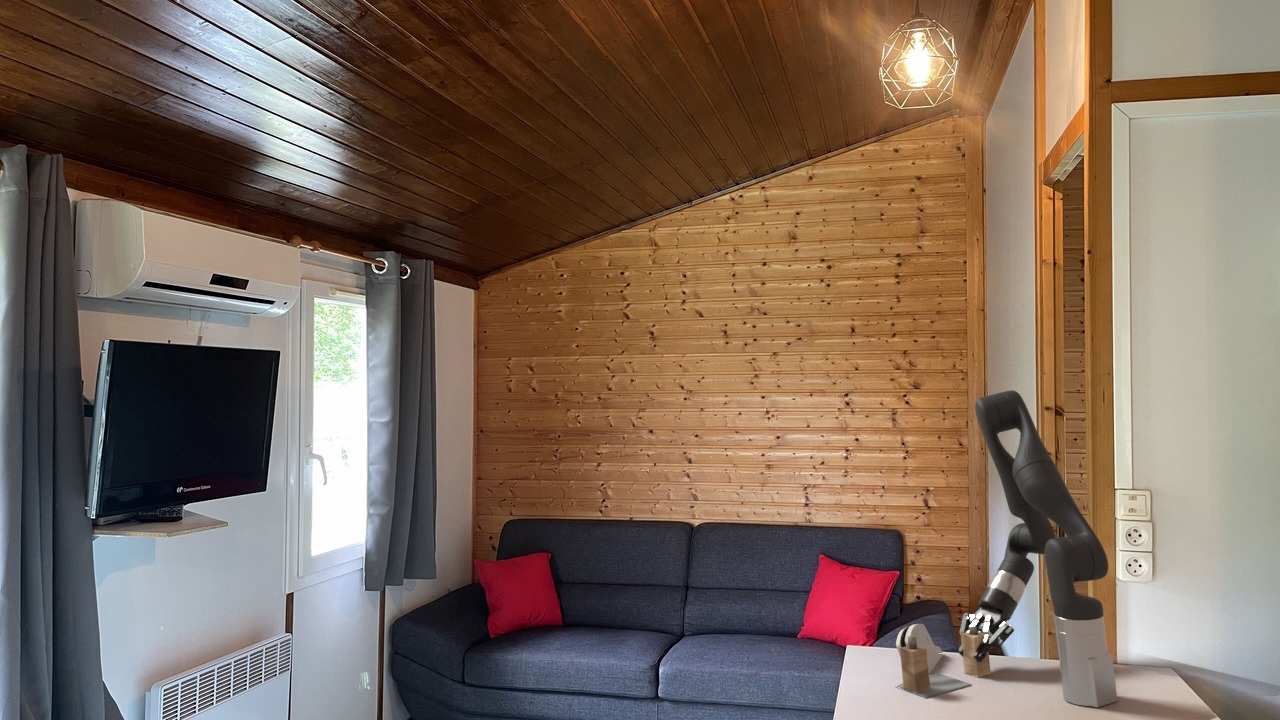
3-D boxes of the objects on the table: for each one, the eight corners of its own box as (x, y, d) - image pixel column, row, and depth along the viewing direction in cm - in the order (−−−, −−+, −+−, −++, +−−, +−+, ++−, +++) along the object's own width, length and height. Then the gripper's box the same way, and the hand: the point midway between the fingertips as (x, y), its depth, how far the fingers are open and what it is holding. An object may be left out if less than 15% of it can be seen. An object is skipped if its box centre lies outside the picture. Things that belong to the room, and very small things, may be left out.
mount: (971, 685, 201) (965, 632, 201) (926, 698, 195) (920, 643, 196) (938, 674, 210) (933, 623, 210) (894, 686, 204) (889, 634, 205)
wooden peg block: (990, 673, 207) (985, 627, 208) (977, 677, 205) (972, 630, 206) (977, 669, 211) (972, 623, 211) (964, 673, 209) (959, 627, 210)
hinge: (928, 675, 210) (909, 633, 212) (909, 680, 212) (891, 639, 214) (943, 654, 225) (926, 615, 227) (926, 659, 227) (908, 621, 229)
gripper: (970, 581, 219) (937, 641, 213) (1017, 590, 206) (983, 655, 200) (988, 599, 221) (956, 660, 215) (1036, 609, 208) (1003, 674, 202)
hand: (969, 657), depth 207 cm, fingers closed on wooden peg block, 4 cm apart
